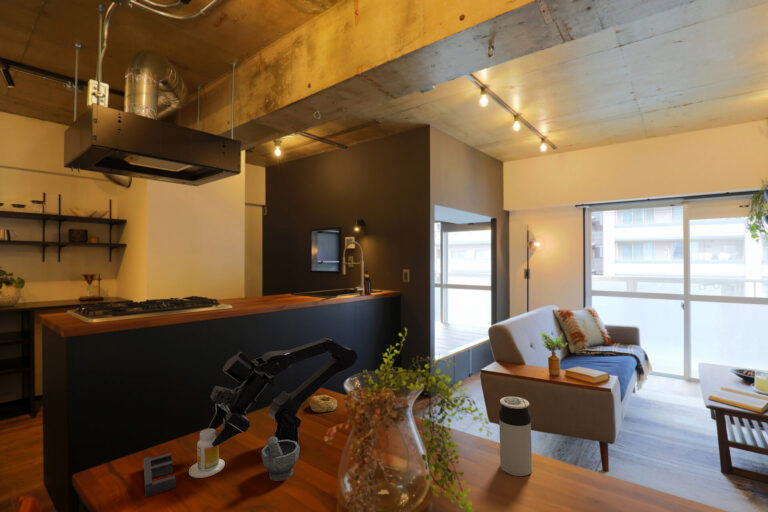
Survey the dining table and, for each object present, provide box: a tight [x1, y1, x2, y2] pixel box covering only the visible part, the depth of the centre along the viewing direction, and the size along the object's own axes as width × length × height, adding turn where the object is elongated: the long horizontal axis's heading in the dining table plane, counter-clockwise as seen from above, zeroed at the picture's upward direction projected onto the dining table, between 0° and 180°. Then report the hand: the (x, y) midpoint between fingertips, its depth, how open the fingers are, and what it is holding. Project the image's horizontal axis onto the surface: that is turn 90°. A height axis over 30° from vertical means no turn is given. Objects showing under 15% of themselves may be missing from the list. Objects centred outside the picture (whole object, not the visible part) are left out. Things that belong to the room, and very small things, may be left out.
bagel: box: [309, 394, 338, 414], centre depth 145 cm, size 10×11×5 cm
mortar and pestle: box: [261, 435, 301, 482], centre depth 100 cm, size 11×9×12 cm
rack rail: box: [143, 452, 176, 498], centre depth 100 cm, size 6×15×3 cm, turn 33°
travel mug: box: [498, 396, 533, 477], centre depth 101 cm, size 8×8×18 cm
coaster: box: [188, 458, 226, 479], centre depth 104 cm, size 9×9×1 cm
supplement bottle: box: [196, 428, 220, 471], centre depth 104 cm, size 5×5×10 cm
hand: (210, 439), depth 104 cm, fingers open, 9 cm apart
